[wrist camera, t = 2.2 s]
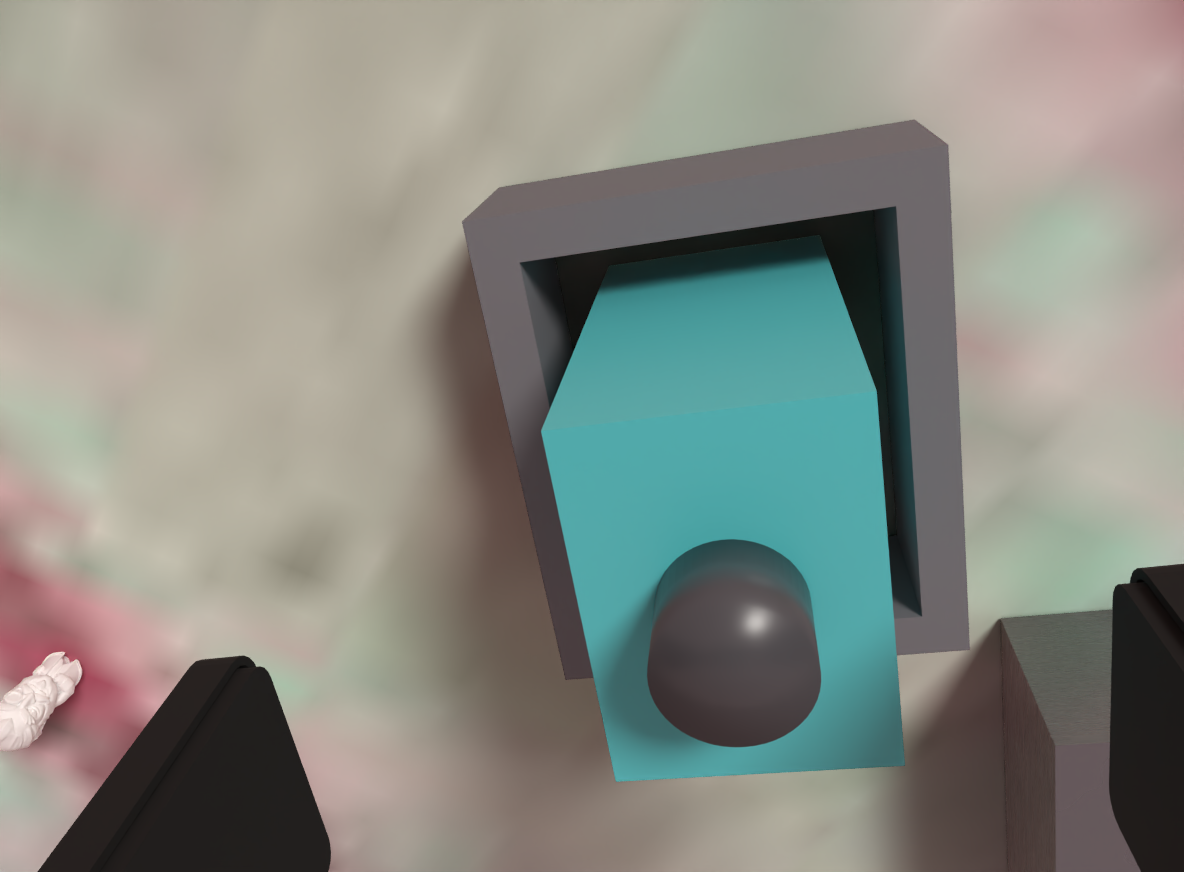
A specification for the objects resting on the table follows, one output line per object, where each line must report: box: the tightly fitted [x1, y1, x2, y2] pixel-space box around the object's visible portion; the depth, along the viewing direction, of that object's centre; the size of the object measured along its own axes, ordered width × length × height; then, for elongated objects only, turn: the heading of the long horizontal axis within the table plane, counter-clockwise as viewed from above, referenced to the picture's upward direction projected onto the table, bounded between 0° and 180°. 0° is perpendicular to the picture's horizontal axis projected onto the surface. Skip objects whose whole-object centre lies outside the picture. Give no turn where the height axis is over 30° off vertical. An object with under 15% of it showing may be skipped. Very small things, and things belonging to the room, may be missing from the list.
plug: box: [541, 235, 905, 782], centre depth 16 cm, size 4×6×10 cm
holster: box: [462, 120, 970, 680], centre depth 19 cm, size 8×9×3 cm
